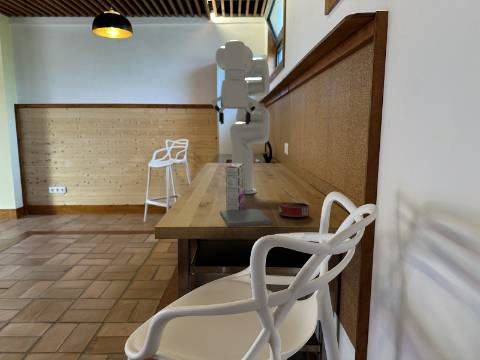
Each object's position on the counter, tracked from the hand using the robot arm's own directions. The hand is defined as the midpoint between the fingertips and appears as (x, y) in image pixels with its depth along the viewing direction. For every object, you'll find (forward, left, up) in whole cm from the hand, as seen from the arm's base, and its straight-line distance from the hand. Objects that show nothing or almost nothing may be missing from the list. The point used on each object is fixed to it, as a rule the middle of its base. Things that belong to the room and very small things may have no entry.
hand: (234, 124), depth 124 cm
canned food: (+25, +14, -31) cm, 42 cm away
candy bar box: (+10, -2, -31) cm, 32 cm away
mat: (+23, -2, -30) cm, 38 cm away
